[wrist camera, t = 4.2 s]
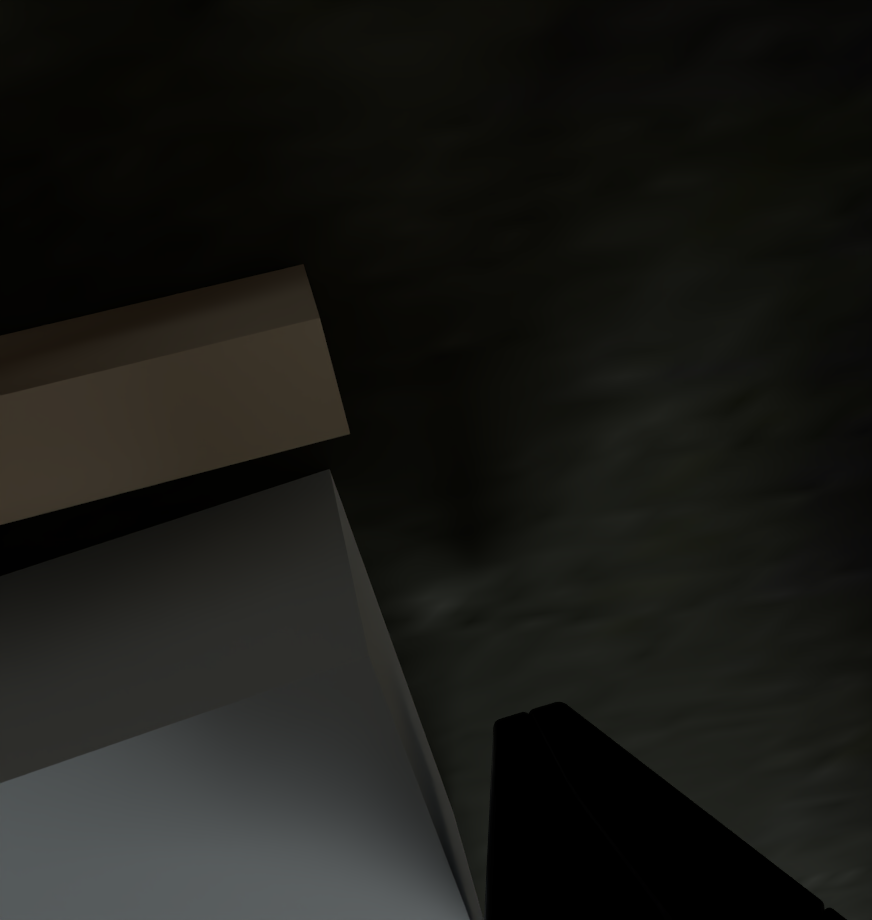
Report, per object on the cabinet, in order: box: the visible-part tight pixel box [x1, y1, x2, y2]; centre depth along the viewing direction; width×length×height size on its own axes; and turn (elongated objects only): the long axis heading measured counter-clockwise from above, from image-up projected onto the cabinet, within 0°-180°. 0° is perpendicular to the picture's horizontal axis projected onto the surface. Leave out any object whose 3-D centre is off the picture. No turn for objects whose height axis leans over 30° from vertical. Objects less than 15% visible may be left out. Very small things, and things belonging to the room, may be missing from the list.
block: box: [0, 469, 484, 920], centre depth 9 cm, size 6×6×4 cm
